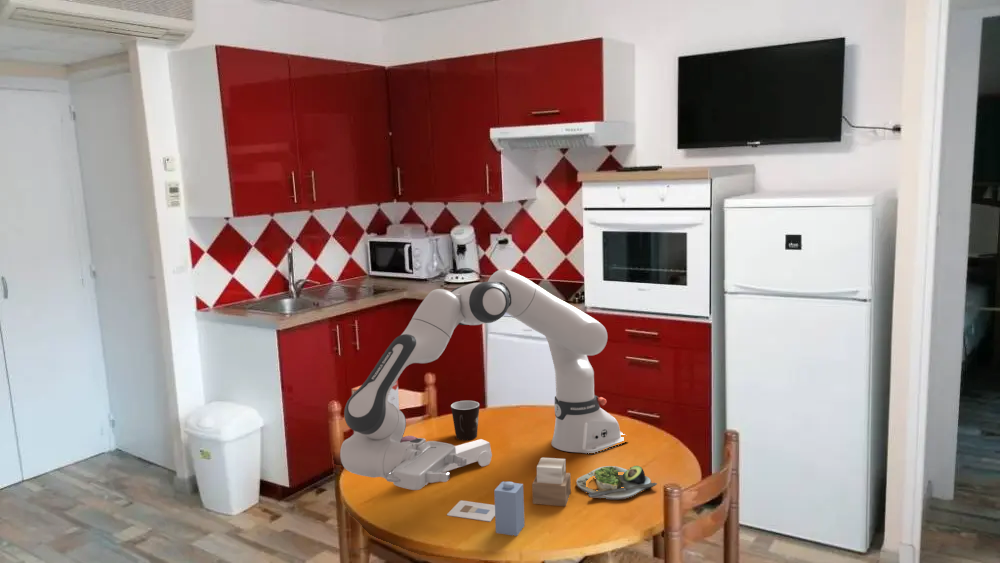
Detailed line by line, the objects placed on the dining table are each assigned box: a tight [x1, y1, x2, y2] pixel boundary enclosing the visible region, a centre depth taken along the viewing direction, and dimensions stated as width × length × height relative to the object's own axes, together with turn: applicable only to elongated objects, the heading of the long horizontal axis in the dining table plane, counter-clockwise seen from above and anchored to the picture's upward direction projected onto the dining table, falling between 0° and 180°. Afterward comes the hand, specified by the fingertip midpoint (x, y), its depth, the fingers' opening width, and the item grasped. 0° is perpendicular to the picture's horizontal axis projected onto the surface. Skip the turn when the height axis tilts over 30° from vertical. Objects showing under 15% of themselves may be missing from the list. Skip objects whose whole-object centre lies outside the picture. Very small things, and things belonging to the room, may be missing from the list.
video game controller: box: [401, 435, 418, 443], centre depth 215 cm, size 10×5×7 cm, turn 68°
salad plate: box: [575, 465, 658, 500], centre depth 188 cm, size 19×18×5 cm
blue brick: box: [493, 481, 525, 537], centre depth 168 cm, size 5×5×11 cm
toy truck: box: [426, 438, 493, 486], centre depth 201 cm, size 25×7×9 cm, turn 128°
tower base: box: [531, 457, 572, 507], centre depth 183 cm, size 8×8×9 cm
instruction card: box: [446, 500, 495, 523], centre depth 178 cm, size 8×11×1 cm
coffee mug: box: [450, 400, 480, 441], centre depth 226 cm, size 12×9×10 cm
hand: (457, 469), depth 171 cm, fingers open, 8 cm apart
